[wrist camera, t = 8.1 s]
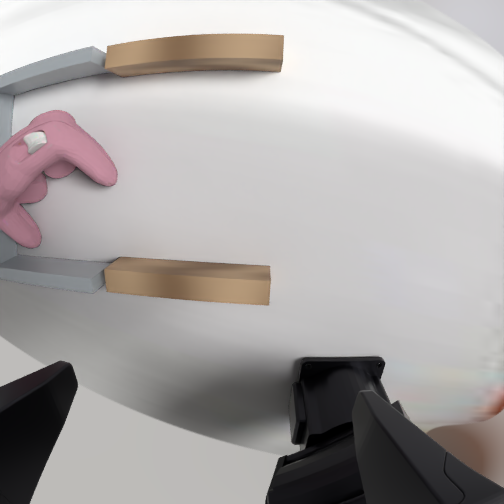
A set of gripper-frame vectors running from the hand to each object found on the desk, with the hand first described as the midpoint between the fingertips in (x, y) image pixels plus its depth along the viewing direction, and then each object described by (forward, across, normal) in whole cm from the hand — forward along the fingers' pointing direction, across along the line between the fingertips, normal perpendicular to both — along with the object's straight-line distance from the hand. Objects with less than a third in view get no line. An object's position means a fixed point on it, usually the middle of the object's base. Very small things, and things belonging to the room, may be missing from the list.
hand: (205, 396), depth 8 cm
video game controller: (+12, +13, -5) cm, 19 cm away
